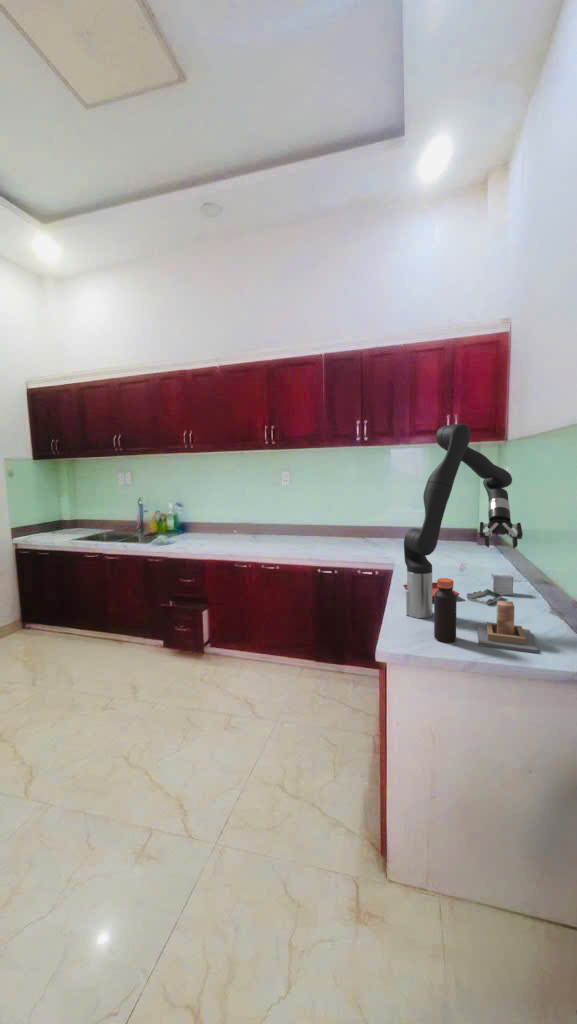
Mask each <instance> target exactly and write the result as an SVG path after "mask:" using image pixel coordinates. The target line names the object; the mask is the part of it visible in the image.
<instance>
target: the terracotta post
mask: <svg viewBox="0 0 577 1024" xmlns="http://www.w3.org/2000/svg"><path fill="white" fill-rule="evenodd" d="M496 623H497V634H505V635H514V625H515V604H514V602H513V601H510V600H509V601H506V600H497V601H496Z"/></svg>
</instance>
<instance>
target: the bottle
mask: <svg viewBox="0 0 577 1024" xmlns="http://www.w3.org/2000/svg"><path fill="white" fill-rule="evenodd" d="M437 586H438V591H437V592H436V593H435V594H434V601H433V603H434V604H433V605H434V606H433V607H434V609H433V617H434V619H433V625H434V626H433V631H434V632H433V636H434V637H433V638H434V639H435V640H436V641H438V642H441V643H446V642H450V643H454V642H455V641H456V640H457V599H458V598H457V597H458V596H457V597H456V594H455V593H454V592H453V591H452V590H454V580H453V579H452V578H448V577H441V578H437Z"/></svg>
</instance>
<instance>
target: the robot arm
mask: <svg viewBox="0 0 577 1024" xmlns="http://www.w3.org/2000/svg"><path fill="white" fill-rule="evenodd" d="M471 437H472V436H471V429H470V427H469V425H467V424H465V423H456V424H447V425H444V426H441V427H440V428H439V429H438V430H437V431H436V435H435V438H436V439H435V440H436V442H437V445H438V446H439V447H440V448H442V449H443V450H444V451H446V453H445V456H444V458H443V459H442V461H441V462H440V463H439V464H438V465H437V467H436V468H435V469H434V470H433V471H432V472H431V474H430V475H429V477H428V478H427V481H426V484H425V487H424V490H423V496H422V497H423V498H422V499H423V505H424V521H423V523H422V527H421V529H419V528H411V529H409V530H408V531H407V532H406V534H405V535H404V538H403V552H404V554H403V555H404V563H405V565H406V578H407V579H406V585H407V590H406V593H405V595H406V599H405V602H406V603H405V604H406V605H405V606H406V607H405V608H406V613H405V614H406V616H410V617H412V618H416V619H428V618H431V617H432V616H433V601H432V583H433V565H432V563H431V562H430V561H429V560H428V558H427V556H429V555H432V553H433V552H434V551H435V549H436V548H437V545H438V540H439V536H440V532H441V527H442V522H443V518H444V514H445V511H446V507H447V504H448V501H449V498H450V496H451V492H452V489H453V486H454V482H455V481H456V480H455V479H456V477H457V473H458V470H459V468H460V465H461V462H463V463H464V464H465V465H466V466H467V467H468V468H470V469H471V470H472V471H473V472H474V473H475V474H476V475H477V476H478V477H479V478H481V479H483V480H482V485H483V488H485V491H486V493H487V496H488V507H487V509H488V510H487V513H488V514H487V515H488V516H487V517H488V522H487V523H484V522H483V521H480V522H479V536H478V537H479V539H484V546H485V547H486V548H490V537H492V536H493V535H502V536H503V535H504V536H507V537H509V538H510V539H511V541H512V549H516V548H517V547H518V540H522V538H523V529H522V523H521V522H517V523H512V521H511V520H512V518H511V507H510V502H509V494H508V491H507V490H506V489H505V488H507V487H510V486H511V484H512V483H513V477H512V475H511V474H510V473H509V471H507V470H506V469H505V468H502V467H500V466H498V465H495V464H494V463H493V462H492V461H491V460H490V459H489V458H488V457H487V456H486V455H484V454H483V453H481V452H480V451H477V450H476V449H473V448H471V447H469V444H470V441H471ZM485 529H488V530H487V531H486V532H485V533H484V530H485ZM513 529H514V530H515V531H516V532H515V531H514V530H513Z"/></svg>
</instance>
